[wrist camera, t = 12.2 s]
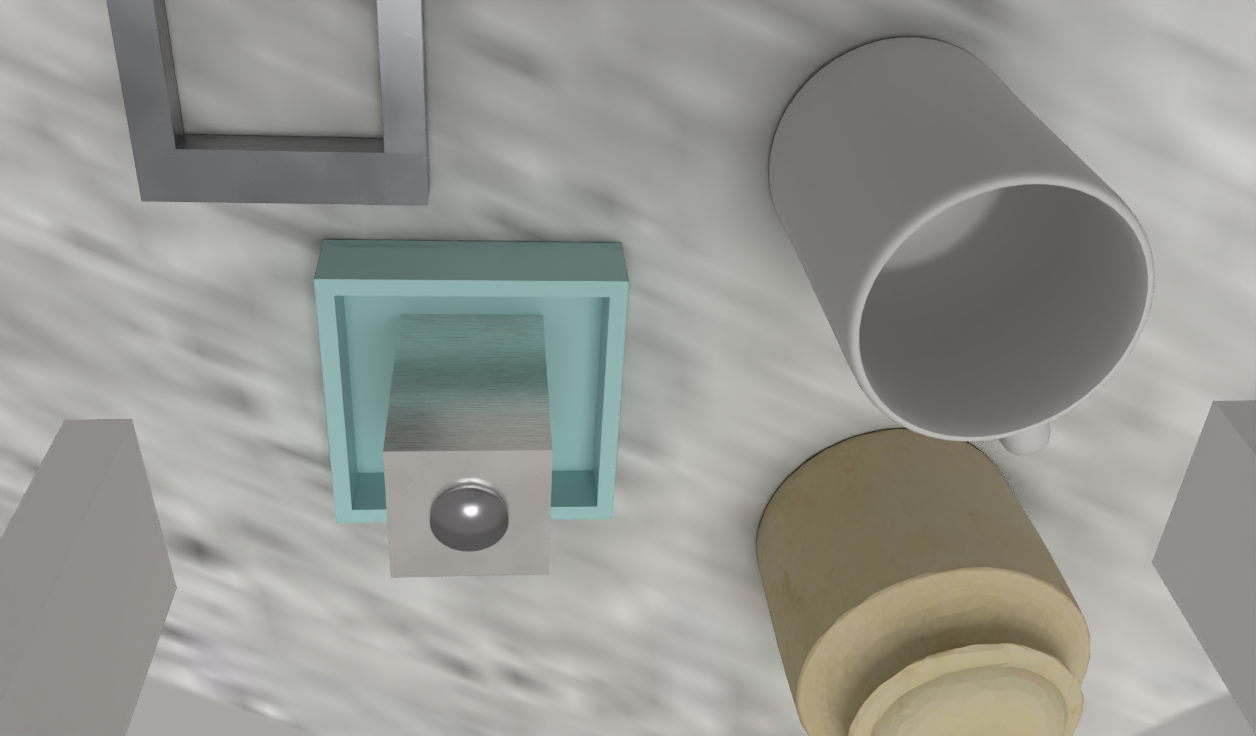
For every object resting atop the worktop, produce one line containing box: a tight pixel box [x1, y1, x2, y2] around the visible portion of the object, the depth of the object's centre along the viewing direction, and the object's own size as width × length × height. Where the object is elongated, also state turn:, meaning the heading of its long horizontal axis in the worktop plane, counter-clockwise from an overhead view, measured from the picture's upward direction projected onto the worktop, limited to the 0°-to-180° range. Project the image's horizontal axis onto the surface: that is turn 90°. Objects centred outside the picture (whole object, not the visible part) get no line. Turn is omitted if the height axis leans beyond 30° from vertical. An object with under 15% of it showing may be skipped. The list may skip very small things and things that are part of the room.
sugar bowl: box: [757, 429, 1090, 736], centre depth 45 cm, size 15×11×15 cm
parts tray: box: [314, 240, 629, 523], centre depth 43 cm, size 10×10×3 cm
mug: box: [769, 37, 1154, 455], centre depth 37 cm, size 12×8×11 cm
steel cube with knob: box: [383, 314, 553, 578], centre depth 40 cm, size 5×5×8 cm
